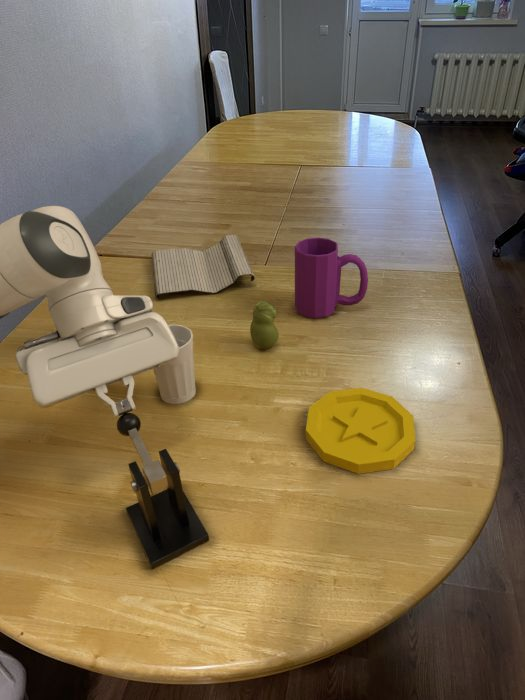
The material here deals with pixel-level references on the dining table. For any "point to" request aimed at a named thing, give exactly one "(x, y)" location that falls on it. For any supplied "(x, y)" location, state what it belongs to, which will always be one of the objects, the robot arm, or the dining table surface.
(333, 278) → the mug
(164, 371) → the cup
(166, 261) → the mat
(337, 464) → the decorative disc
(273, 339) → the green figurine
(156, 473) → the lever with ball knob
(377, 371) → the dining table surface
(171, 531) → the black lever stand
